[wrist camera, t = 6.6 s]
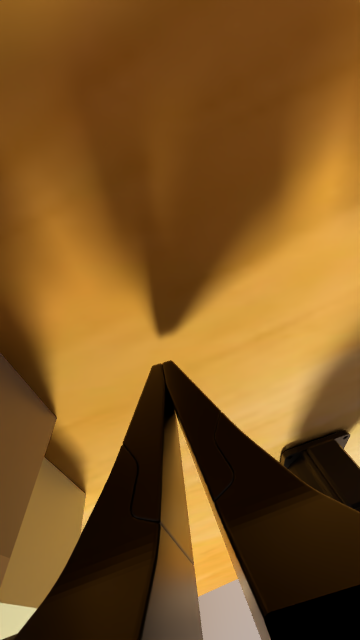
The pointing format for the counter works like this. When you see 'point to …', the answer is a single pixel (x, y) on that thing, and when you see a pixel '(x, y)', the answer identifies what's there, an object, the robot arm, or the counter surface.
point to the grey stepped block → (18, 453)
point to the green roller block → (40, 547)
